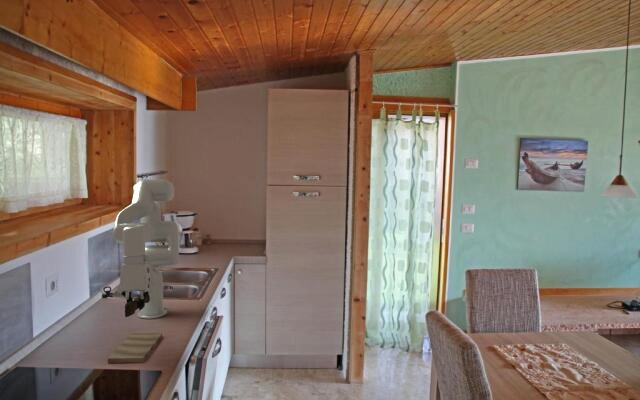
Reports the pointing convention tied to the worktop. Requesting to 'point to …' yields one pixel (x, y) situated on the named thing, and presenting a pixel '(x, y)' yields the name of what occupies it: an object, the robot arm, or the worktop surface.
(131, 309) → the hand tool
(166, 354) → the worktop surface
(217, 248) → the worktop surface
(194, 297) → the worktop surface
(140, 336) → the board
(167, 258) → the robot arm
